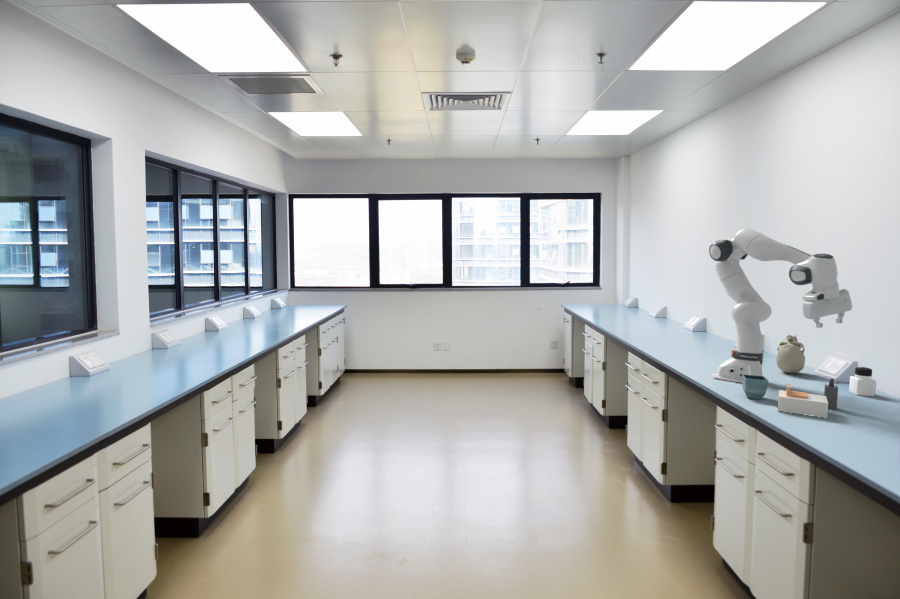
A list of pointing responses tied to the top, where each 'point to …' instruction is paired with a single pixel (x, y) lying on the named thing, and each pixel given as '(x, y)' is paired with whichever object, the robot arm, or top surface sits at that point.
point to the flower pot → (754, 386)
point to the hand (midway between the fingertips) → (829, 325)
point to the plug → (831, 394)
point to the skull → (790, 355)
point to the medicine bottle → (862, 382)
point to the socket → (803, 404)
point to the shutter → (795, 393)
